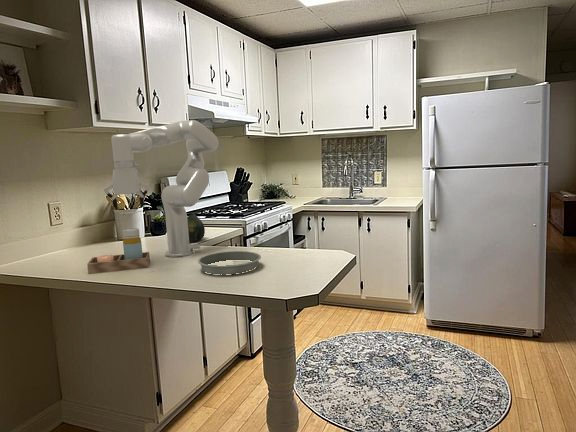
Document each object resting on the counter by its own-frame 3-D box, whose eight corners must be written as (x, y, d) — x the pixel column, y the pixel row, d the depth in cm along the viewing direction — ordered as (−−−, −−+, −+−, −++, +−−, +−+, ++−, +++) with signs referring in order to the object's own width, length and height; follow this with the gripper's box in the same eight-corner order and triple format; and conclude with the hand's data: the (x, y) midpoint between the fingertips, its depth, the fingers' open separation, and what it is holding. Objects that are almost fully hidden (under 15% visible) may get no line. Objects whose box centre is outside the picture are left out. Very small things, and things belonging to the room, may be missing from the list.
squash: (168, 234, 224) (186, 211, 223) (175, 230, 239) (192, 208, 238) (190, 251, 225) (208, 229, 224) (196, 246, 240) (213, 225, 239)
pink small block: (115, 266, 182) (114, 254, 181) (113, 269, 176) (112, 257, 175) (99, 267, 180) (98, 255, 180) (97, 271, 175) (95, 259, 174)
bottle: (133, 268, 176) (129, 231, 174) (121, 267, 180) (117, 230, 178) (147, 264, 182) (143, 228, 180) (135, 262, 186) (132, 227, 184)
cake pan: (245, 279, 159) (244, 267, 158) (186, 275, 167) (185, 264, 166) (271, 262, 181) (270, 251, 181) (218, 259, 190) (217, 249, 189)
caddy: (150, 263, 188) (149, 251, 187) (148, 270, 177) (147, 257, 176) (93, 269, 183) (92, 257, 182) (88, 276, 172) (87, 263, 171)
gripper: (147, 164, 182) (151, 205, 185) (102, 166, 178) (107, 209, 180) (146, 164, 175) (151, 207, 178) (100, 167, 170) (105, 211, 173)
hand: (129, 208), depth 179 cm, fingers open, 9 cm apart
